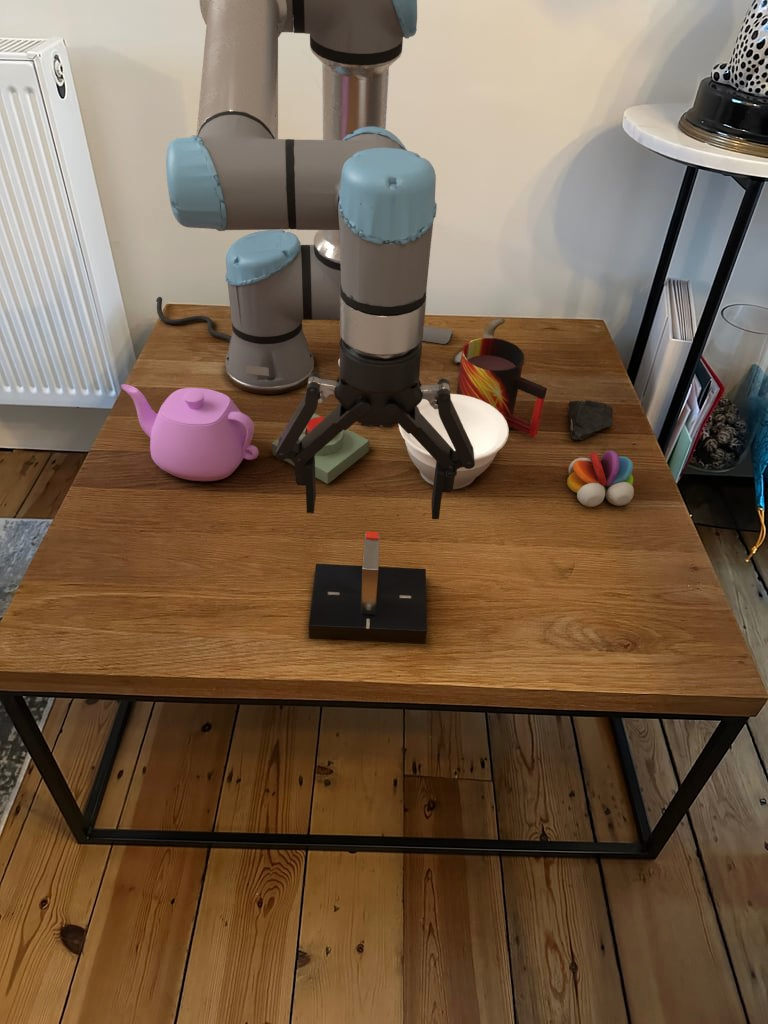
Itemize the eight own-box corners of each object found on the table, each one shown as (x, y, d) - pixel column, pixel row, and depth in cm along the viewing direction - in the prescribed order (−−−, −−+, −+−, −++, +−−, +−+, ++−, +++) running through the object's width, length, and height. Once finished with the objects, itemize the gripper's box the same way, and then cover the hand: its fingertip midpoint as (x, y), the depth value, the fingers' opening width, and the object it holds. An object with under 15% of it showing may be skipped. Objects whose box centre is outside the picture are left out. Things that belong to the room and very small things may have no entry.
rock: (615, 445, 122) (623, 420, 118) (571, 443, 122) (578, 418, 118) (604, 411, 129) (611, 386, 125) (563, 409, 128) (569, 384, 125)
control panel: (308, 639, 91) (308, 625, 90) (316, 575, 99) (316, 561, 97) (425, 644, 92) (427, 630, 90) (424, 580, 99) (425, 567, 97)
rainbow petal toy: (558, 473, 116) (568, 435, 111) (619, 472, 117) (632, 434, 112) (572, 512, 110) (583, 473, 105) (637, 510, 111) (651, 472, 106)
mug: (535, 443, 121) (550, 379, 113) (449, 429, 123) (457, 365, 115) (539, 409, 128) (553, 346, 120) (458, 396, 130) (466, 333, 122)
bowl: (396, 435, 121) (399, 390, 116) (496, 440, 121) (504, 395, 116) (394, 502, 110) (397, 456, 104) (504, 508, 110) (514, 462, 104)
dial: (375, 615, 91) (378, 568, 86) (360, 614, 91) (362, 567, 86) (377, 577, 96) (380, 530, 90) (363, 576, 96) (365, 530, 90)
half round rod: (449, 345, 142) (450, 337, 141) (347, 329, 145) (348, 321, 143) (452, 334, 145) (453, 326, 144) (353, 319, 148) (353, 310, 146)
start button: (301, 435, 114) (301, 425, 113) (318, 422, 117) (318, 413, 116) (322, 445, 113) (322, 436, 112) (339, 433, 115) (339, 423, 114)
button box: (272, 454, 117) (270, 433, 114) (314, 424, 123) (314, 403, 120) (327, 484, 112) (327, 463, 109) (368, 451, 118) (369, 430, 115)
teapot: (274, 443, 118) (269, 379, 110) (244, 499, 109) (237, 433, 101) (153, 422, 121) (140, 358, 113) (114, 475, 111) (96, 408, 103)
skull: (448, 369, 138) (450, 343, 133) (476, 334, 144) (480, 308, 139) (498, 388, 134) (503, 362, 130) (525, 352, 141) (530, 326, 136)
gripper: (514, 323, 72) (484, 490, 87) (249, 309, 72) (264, 479, 86) (522, 368, 66) (488, 537, 81) (236, 353, 66) (254, 526, 81)
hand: (373, 507), depth 84 cm, fingers open, 13 cm apart
